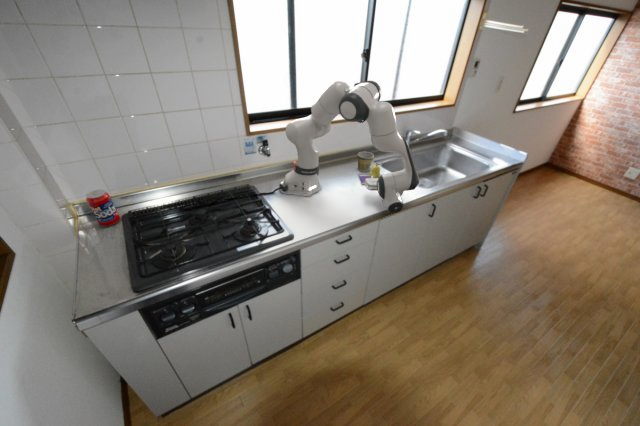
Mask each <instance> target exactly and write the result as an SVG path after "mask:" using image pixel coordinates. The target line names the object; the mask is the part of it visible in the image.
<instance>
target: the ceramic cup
mask: <svg viewBox="0 0 640 426" xmlns="http://www.w3.org/2000/svg"><path fill="white" fill-rule="evenodd" d="M374 157H375V155H374V153H372V152H371V151H360V152H357V170H358V171H359V172H362V173H364V172H368V171H370V169H371V165H372V163H373V160H374Z"/></svg>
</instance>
